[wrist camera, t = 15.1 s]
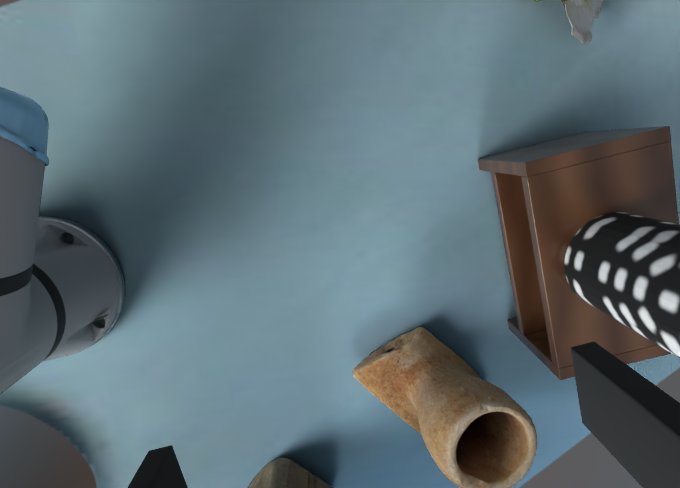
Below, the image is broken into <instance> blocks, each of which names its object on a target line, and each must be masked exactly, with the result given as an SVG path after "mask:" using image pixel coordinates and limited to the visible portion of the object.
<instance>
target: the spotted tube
mask: <svg viewBox="0 0 680 488" xmlns="http://www.w3.org/2000/svg"><path fill="white" fill-rule="evenodd" d="M564 268H565V275H566V279H567V282H568V284H569V286H570V288H571V289H572V291H573V292H574V293H575V294H576V295H577V296H578V297H579V298H581V299H582V300H583V301H585V302H587V303H588V304H590V305H592V306H593V307H595V308H597V309H598V310H600V311H602V312H603V313H605V314H607V315H608V316H610V317H612V318H613V319H615V320H617V321H618V322H620V323H622V324H623V325H625V326H627V327H628V328H630V329H632V330H633V331H635V332H637V333H638V334H640V335H642V336H643V337H645V338H647V339H649V340H650V341H652V342H654V343H655V344H657V345H659V346H660V347H662V348H664V349H665V350H667V351H669V352H670V353H672V354H674V355H675V356H677V357H679V358H680V225H679V224H674V223H670V222H665V221H661V220H656V219H652V218H647V217H643V216H638V215H633V214H629V213H622V212H614V213H608V214H604V215H601V216H599V217H596V218H594V219H593V220H591V221H589V222H587V223H586V224H585V225H584V226H583V227H582V228H580V229H579V231H578V232H577V233H576V234H575V236H574V237H573V238H572V240H571V242H570V244H569V246H568V249H567V252H566V255H565V262H564Z"/></svg>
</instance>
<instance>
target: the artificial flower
mask: <svg viewBox="0 0 680 488" xmlns="http://www.w3.org/2000/svg"><path fill="white" fill-rule="evenodd" d="M534 1H541V0H534ZM561 1H562V2H563V4H564V7H565V12H566V15H567V17H568V20H569V22H570V24H571V26H572V31H571V34H572V35H573V36H574V37H576V38H577V39H578V40H580V42H581V43H582V44H588V43H589V42H590V41H591V38H592V34H591V26H592V21H593V18H597V17H598V15H599V13H600V11H601V5H602V0H561Z"/></svg>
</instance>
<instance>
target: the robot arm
mask: <svg viewBox="0 0 680 488" xmlns="http://www.w3.org/2000/svg"><path fill="white" fill-rule="evenodd" d="M47 141H48V118H47V116H46V114H45V112H44V111H43V109H42V108H41V106H40V105H38V104H37V103H36V102H35V101H33V100H32V99H30V98H28V97H25V96H23V95H21V94H18V93H16V92H13V91H10V90H7V89H4V88H2V87H0V394H1V393H3V392H4V391H5V390H6V389H8V388H9V387H10V386H12V385H13V384H14V383H15V382H17V381H18V380H19V379H21V378H22V377H23V376H24V375H26V374H27V373H28V372H30V371H31V370H32V369H33V368H35V367H36V366H37V365H38V364H40V363H41V362H42V361H47V360H51V359H55V358H60V357H64V356H68V355H72V354H75V353H77V352H80V351H82V350H84V349H86V348H88V347H90V346H91V345H93V344H94V343H96V342H97V341H98V340H100V339H101V338H102V337H103V336H104V335H106V334H107V333H108V332H109V331H110V330H111V329H112V327H113V326H114V325H115V323H116V321H117V320H118V318H119V316H120V314H121V311H122V308H123V304H124V298H125V284H124V278H123V274H122V271H121V268H120V265H119V263H118V261H117V259H116V257H115V255H114V254H113V252H112V251H111V250H110V248H109V247H108V246H107V245H106V244H105V242H104V241H103V240H102V239H100V238H99V237H98V236H97V235H96V234H94V233H93V232H92V231H90V230H89V229H87V228H85V227H84V226H82V225H80V224H78V223H75V222H72V221H70V220H66V219H62V218H57V217H39V212H40V203H41V195H42V186H43V177H44V169H45V166H48V165H49V159H48V157H47ZM571 353H572V359H573V366H574V372H575V378H576V385H577V391H578V397H579V404H580V410H581V416H582V423H583V424H584V425H585V426H586V427H587V428H588V429H589V430H590V431H591V433H592V434H593V435H594V436H595V437H596V438H597V439H598V440H599V441H600V442H601V443H602V444H603V445H604V446H605V448H606V449H607V450H608V451H609V452H610V453H611V454H612V455H613V456H614V457H615V458H616V459H617V460H618V461H619V463H620V464H621V465H622V466H623V467H624V468H625V469H626V470H627V471H628V472H629V473H630V474H631V475H632V476H633V478H634V479H636V481H637V482H638V483H639V484H640V485H641V486H642V487H643V488H680V403H679V402H677V401H676V400H674V399H673V398H672V397H670V396H669V395H668V394H666V393H665V392H664V391H662V390H661V389H660V388H658V387H657V386H655V385H654V384H653V383H651V382H650V381H648V380H647V379H646V378H644V377H643V376H642V375H640V374H639V373H637V372H636V371H635V370H633V369H632V368H630V367H629V366H628V365H626V364H625V363H624V362H622V361H621V360H619V359H618V358H617V357H615V356H614V355H612V354H611V353H610V352H608V351H607V350H606V349H604V348H603V347H601V346H600V345H599V344H597V343H596V342H590V343H586V344H582V345H578V346H574V347H571ZM128 488H187V485H186V482H185V480H184V477H183V474H182V471H181V469H180V466H179V463H178V461H177V458H176V455H175V453H174V450H173V447H172V445H171V446H167V447H163V448H159V449H155V450H151V451H149V452H148V454H147V455H146V457H145V459H144V460H143V462H142V464H141V466H140V467H139V469H138V471H137V472H136V474H135V476H134V478H133V479H132V481H131V483H130V484H129V486H128Z"/></svg>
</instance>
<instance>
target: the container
mask: <svg viewBox="0 0 680 488" xmlns="http://www.w3.org/2000/svg"><path fill="white" fill-rule="evenodd" d="M248 488H333V487H331V486H330V485H328V484H327V483H325V482H324V481H322V480H321V479H319V478H318V477H317V476H315V475H313V474H312V473H311V472H308V471H307V470H306V469H305V468H303V467H301V466H300V465H298V464H297V463H295V462H293V461H292V460H290V459H286V458H281V457H280V458H278V459H275V460H273V461H271V462H269V463H268V464H267V465H266V466H265V467H264V468H263V469H262V470H261V471H260V472H259V473H258V474H257V476H256V477H255V478H254V479H253V481H252V482H251V483H250V485H249V486H248Z"/></svg>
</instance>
